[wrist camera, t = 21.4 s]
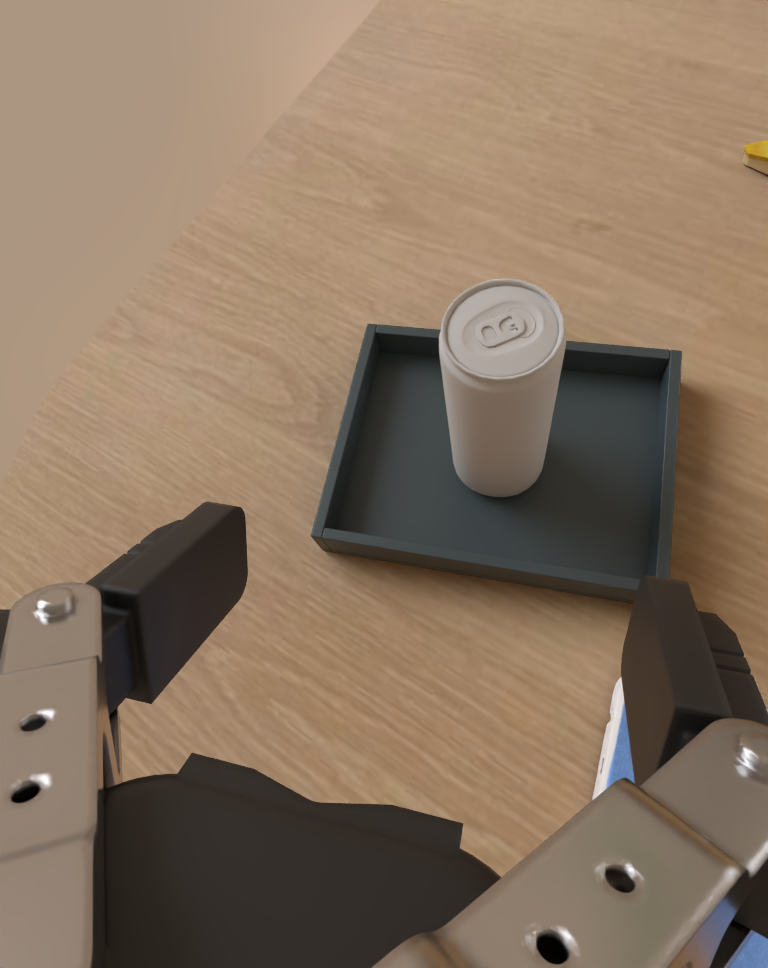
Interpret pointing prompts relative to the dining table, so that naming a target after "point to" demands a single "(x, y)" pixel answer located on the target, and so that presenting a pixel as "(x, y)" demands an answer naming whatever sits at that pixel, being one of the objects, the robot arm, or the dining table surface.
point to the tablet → (762, 960)
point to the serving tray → (532, 513)
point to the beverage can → (501, 382)
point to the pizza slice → (757, 156)
